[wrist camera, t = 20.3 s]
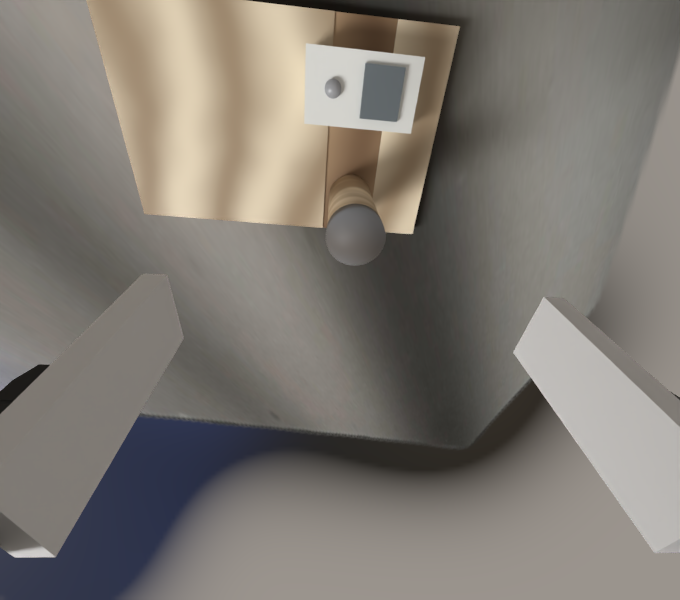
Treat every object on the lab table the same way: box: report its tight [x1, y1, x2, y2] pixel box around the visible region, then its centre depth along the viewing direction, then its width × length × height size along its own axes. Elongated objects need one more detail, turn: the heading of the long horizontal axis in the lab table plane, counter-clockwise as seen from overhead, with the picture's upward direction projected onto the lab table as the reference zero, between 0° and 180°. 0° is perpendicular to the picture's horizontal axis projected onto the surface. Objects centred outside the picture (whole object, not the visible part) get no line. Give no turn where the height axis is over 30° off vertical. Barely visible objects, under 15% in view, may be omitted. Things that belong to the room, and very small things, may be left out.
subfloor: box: [87, 0, 460, 234], centre depth 23 cm, size 23×14×1 cm, turn 85°
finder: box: [304, 43, 425, 134], centre depth 20 cm, size 7×4×3 cm, turn 85°
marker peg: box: [326, 175, 386, 265], centre depth 22 cm, size 4×4×9 cm
